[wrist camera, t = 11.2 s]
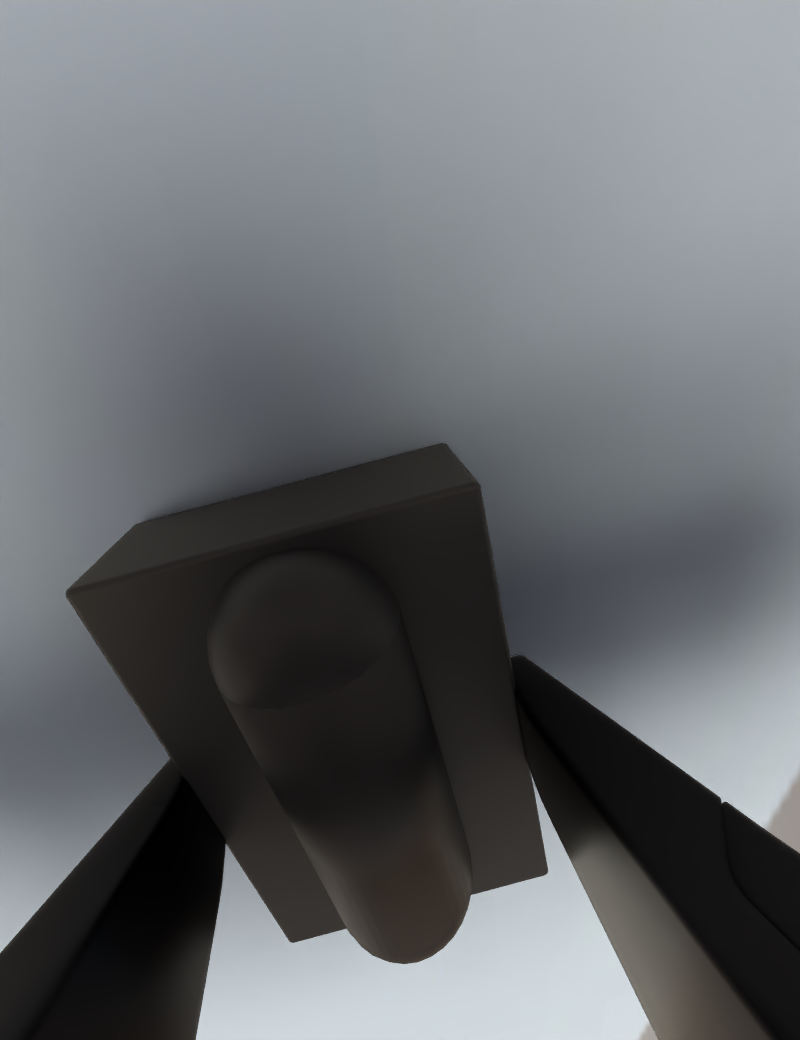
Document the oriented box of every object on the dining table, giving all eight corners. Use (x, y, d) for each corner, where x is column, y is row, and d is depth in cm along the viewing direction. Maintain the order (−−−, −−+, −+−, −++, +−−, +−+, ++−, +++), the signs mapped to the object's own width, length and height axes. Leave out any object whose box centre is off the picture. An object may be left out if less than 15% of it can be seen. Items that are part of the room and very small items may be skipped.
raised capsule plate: (132, 523, 7) (-16, 664, 4) (446, 440, 7) (516, 523, 4) (299, 836, 10) (281, 1038, 7) (513, 778, 10) (580, 957, 7)
